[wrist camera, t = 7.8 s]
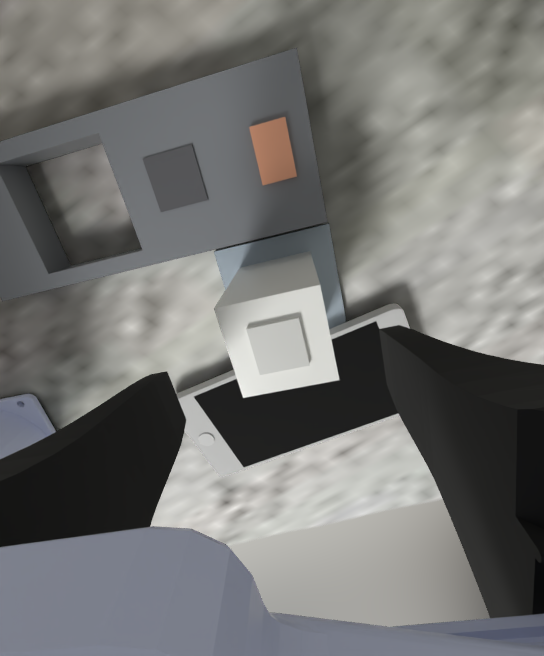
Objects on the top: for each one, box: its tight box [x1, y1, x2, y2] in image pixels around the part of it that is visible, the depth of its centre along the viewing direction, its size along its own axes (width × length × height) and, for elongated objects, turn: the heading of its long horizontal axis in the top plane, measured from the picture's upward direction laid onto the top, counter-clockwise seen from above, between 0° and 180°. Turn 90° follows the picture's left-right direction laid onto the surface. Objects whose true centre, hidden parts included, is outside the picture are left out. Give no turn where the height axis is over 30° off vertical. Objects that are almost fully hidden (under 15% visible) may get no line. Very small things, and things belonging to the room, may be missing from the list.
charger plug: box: [214, 251, 339, 398], centre depth 16 cm, size 4×4×7 cm
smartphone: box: [176, 303, 410, 477], centre depth 22 cm, size 7×15×1 cm, turn 116°
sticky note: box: [214, 223, 346, 329], centre depth 20 cm, size 6×6×1 cm
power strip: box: [0, 48, 327, 301], centre depth 17 cm, size 18×7×2 cm, turn 104°
